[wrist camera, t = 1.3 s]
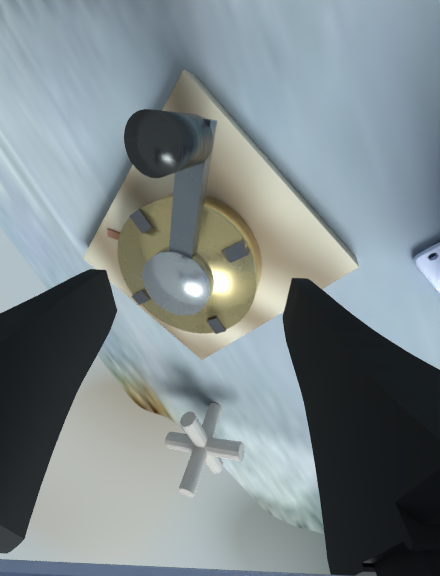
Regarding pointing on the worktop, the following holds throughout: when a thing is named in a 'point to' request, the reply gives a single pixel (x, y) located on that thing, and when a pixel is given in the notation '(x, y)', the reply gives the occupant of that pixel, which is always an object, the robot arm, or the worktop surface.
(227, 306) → the crank handle
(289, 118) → the worktop surface
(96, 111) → the worktop surface
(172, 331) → the beige flat board
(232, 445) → the pipe connector
